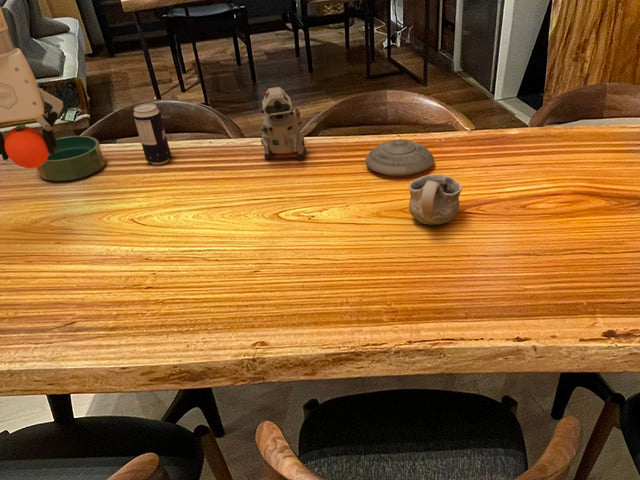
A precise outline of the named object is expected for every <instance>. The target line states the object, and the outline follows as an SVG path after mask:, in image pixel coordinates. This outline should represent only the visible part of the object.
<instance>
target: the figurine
mask: <svg viewBox="0 0 640 480" xmlns="http://www.w3.org/2000/svg"><path fill="white" fill-rule="evenodd" d="M263 95H264V98H263V99H262V103H261V104H262V110H260V113H261V114H262V115H263V114H265V116H264V119H263V122H262V125H261V128H260V129H261V131H262V132H263V133H262V134H261V138H260V139H259V141H260V144H261V145H262V146H263V150H264V154H263V155H264V159H265V160H271V158H272V156H273V155H274V154H291V153H294V152H297V160H299V161H303V160H304V159H305V156H306V154H307V147H306V144H305V137H304V133H303V132H300V128H299V126H300V125H302V124H303V123H302V119H301V111H300V109H298V108H297V107H295V106H294V107H293V104H292V100H291V97H290V96H289V95H288V94H287V93H286V92H285V90H284V89H283V88H282V87H281V86H275V87H269V88H267V90H266V91H264V92H263ZM294 109H295V111H293V110H294Z"/></svg>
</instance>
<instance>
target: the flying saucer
mask: <svg viewBox="0 0 640 480" xmlns="http://www.w3.org/2000/svg"><path fill="white" fill-rule="evenodd" d="M434 162H435V158H434V155H433V154H432V152H431V151H430V150H429V149H428V148H427V147H426V146H424V145H422V144H421V143H419V142H416V141H413V140H409V139H392V140H388V141H385V142H382V143H380V144H378V145H377V146H375V147H374V148H372V149H371V150H370V151H369V153H368V154H367V155H366V157H365V160H364V163H365V165H366V166H367V167H368V168H369V169H370V170H372V171H373V172H376V173H379V174H382V175H385V176H386V175H387V176H408V175H409V176H410V175H415V174H418V173H422V172H423V171H425V170H427V169H429V168H430V167H431V166H432V165H433V164H434Z"/></svg>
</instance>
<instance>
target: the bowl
mask: <svg viewBox="0 0 640 480" xmlns="http://www.w3.org/2000/svg"><path fill="white" fill-rule="evenodd" d="M56 141H57V144H58V147H55V154H50V152H49V156H48V158H47V160H46V162H45V163H44V164H43V165H41V166H39V167H36V168H35V169H36V171H37V174H38V175H39V177H40V178H41V179H44V180H46V181H47V180H48V181H55V182H60V181H61V182H63V181H64V182H66V181H74V180H78V179H83V178H85V177H89V176H90V175H93V174H94V173H97V172H98V171H99V170H101V169H102V168H103V167H104V166H105V165H106V159H105V157H104V153H103V150H102V148H101V144H100V140H98V139H97V138H95V137H92V136H89V135H88V136H87V135H69V136H62V137H57V138H56Z"/></svg>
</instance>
